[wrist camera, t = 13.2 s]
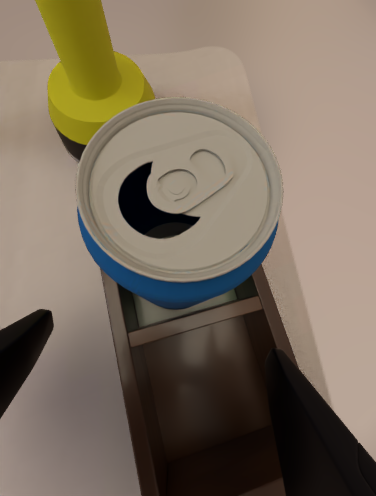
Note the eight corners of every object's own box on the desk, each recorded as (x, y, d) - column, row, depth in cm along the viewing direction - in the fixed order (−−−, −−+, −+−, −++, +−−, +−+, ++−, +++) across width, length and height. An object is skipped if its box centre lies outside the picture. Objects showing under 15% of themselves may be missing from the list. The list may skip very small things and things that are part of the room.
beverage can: (115, 258, 18) (10, 155, 6) (183, 211, 19) (198, 54, 8) (168, 328, 17) (157, 362, 5) (235, 273, 18) (346, 199, 6)
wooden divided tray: (214, 203, 20) (227, 168, 15) (288, 427, 16) (338, 477, 11) (109, 227, 19) (87, 197, 14) (158, 475, 15) (151, 555, 10)
